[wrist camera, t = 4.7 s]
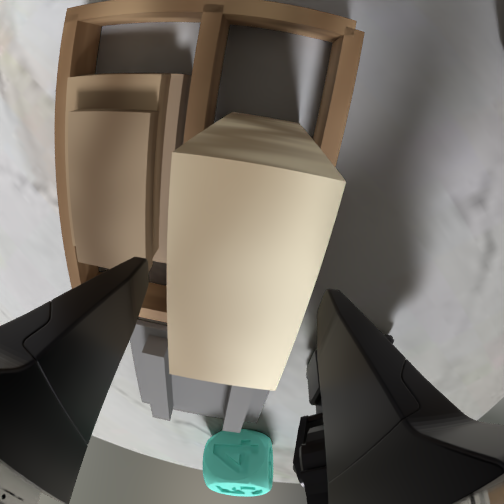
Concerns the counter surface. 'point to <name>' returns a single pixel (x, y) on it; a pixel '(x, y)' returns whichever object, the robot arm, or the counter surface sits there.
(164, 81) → the offcut stack
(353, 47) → the rack
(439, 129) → the counter surface
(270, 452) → the decorative dice
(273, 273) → the pale wooden block
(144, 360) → the holder
